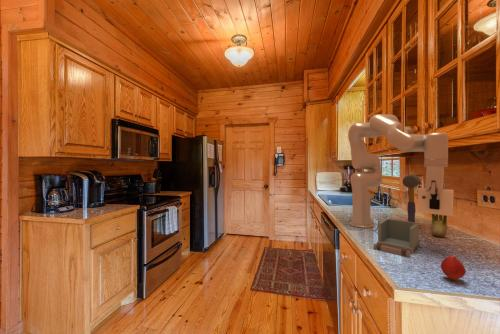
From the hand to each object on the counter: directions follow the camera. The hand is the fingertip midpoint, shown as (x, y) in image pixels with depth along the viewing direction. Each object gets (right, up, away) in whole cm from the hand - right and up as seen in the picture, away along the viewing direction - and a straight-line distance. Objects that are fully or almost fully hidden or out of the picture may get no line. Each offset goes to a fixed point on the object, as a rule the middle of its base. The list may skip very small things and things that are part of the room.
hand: (435, 207), depth 95 cm
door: (0, -2, 0) cm, 2 cm away
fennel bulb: (+17, -18, +20) cm, 32 cm away
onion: (-12, -19, -22) cm, 31 cm away
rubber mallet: (+15, -18, +36) cm, 43 cm away
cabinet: (-12, -18, +7) cm, 23 cm away
